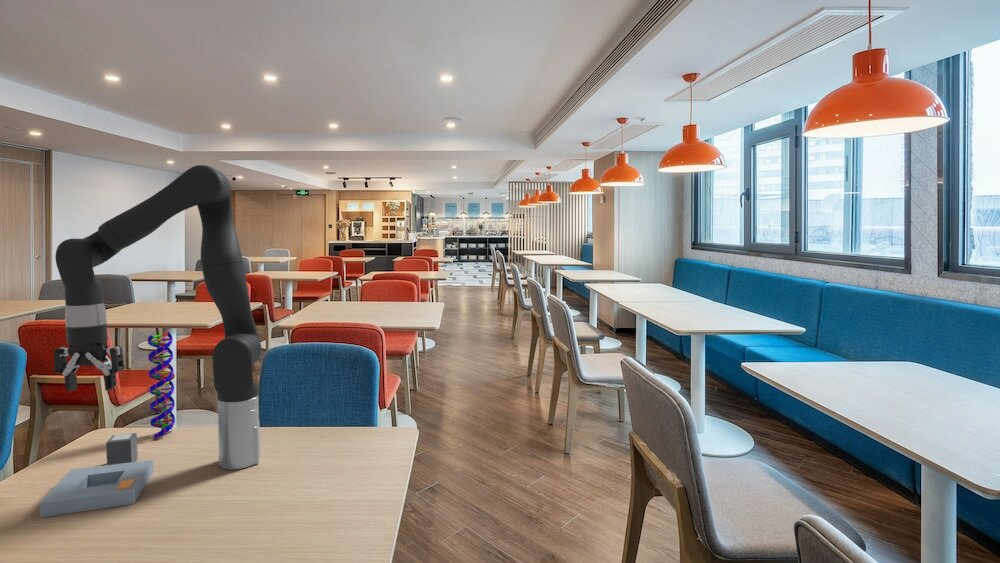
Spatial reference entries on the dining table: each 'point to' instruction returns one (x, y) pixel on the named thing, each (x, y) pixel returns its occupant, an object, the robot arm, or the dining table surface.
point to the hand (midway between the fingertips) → (91, 390)
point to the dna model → (161, 383)
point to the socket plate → (97, 488)
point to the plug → (122, 449)
